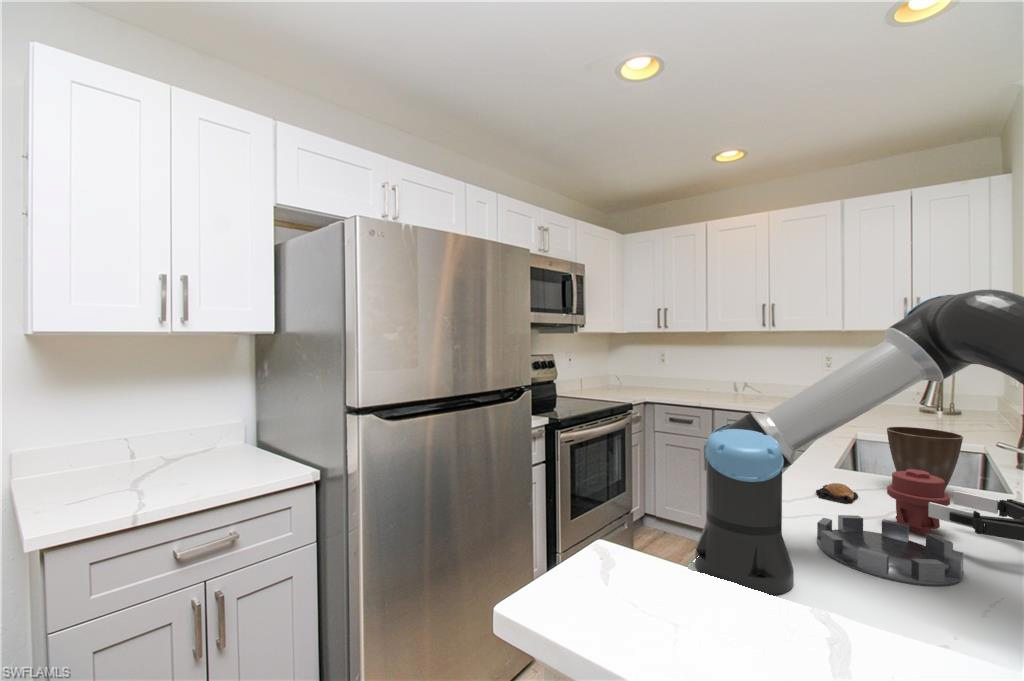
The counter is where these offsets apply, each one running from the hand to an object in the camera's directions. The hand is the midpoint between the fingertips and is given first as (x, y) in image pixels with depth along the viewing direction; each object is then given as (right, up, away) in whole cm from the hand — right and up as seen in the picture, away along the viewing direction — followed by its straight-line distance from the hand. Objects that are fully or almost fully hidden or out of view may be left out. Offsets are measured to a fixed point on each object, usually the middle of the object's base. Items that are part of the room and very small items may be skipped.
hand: (941, 502), depth 95 cm
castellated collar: (-19, -7, -9) cm, 22 cm away
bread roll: (-5, -7, +24) cm, 25 cm away
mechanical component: (-2, -7, +3) cm, 8 cm away
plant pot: (+20, -7, +27) cm, 34 cm away
